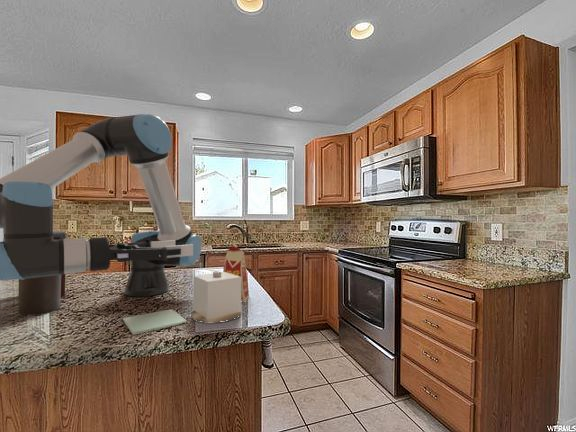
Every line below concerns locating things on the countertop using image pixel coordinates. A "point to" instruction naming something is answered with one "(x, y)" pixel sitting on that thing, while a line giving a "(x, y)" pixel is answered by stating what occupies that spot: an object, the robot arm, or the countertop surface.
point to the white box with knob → (216, 294)
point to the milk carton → (237, 268)
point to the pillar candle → (39, 295)
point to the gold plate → (216, 319)
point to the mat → (153, 321)
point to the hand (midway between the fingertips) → (183, 247)
